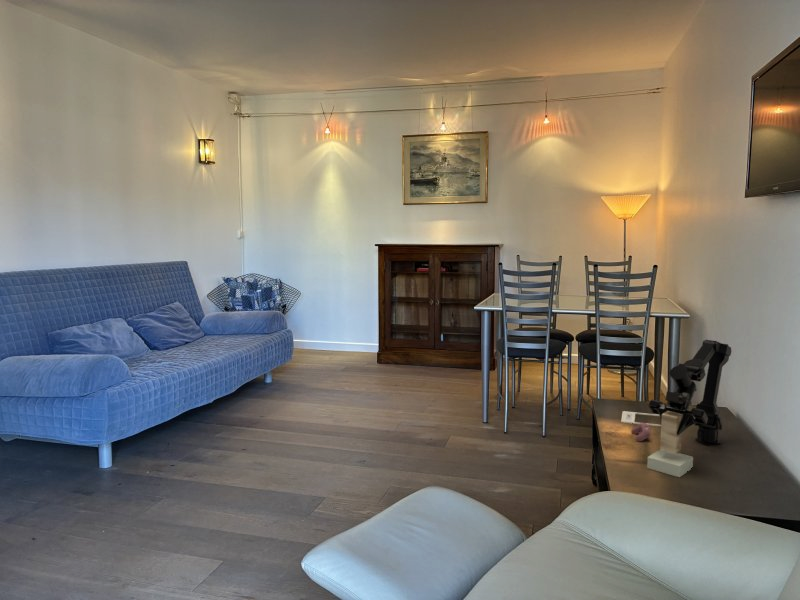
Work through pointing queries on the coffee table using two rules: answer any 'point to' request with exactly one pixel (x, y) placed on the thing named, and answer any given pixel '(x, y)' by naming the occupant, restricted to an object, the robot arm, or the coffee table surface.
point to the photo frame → (630, 417)
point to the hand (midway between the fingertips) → (669, 432)
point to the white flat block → (670, 463)
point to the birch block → (670, 432)
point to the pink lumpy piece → (642, 431)
